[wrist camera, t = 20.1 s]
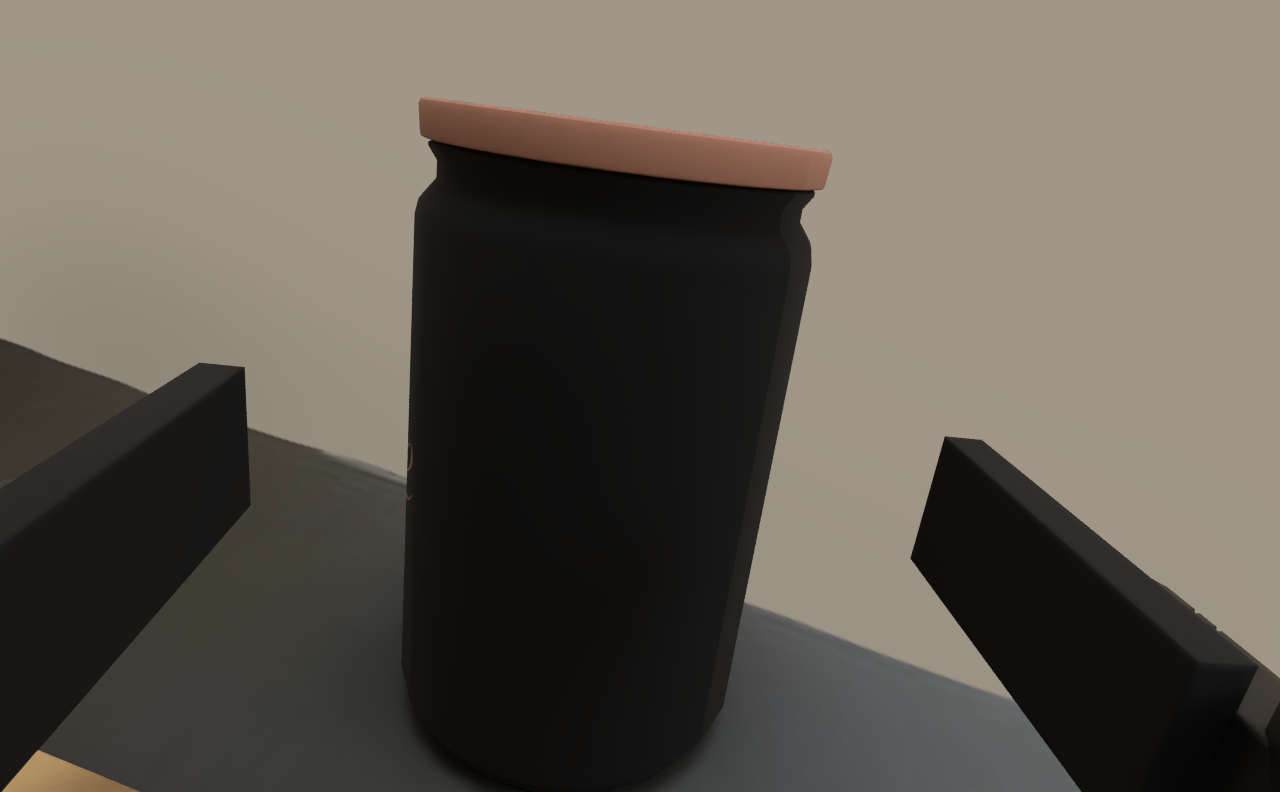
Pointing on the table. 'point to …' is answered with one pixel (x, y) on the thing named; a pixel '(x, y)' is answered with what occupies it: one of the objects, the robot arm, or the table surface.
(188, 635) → the table surface
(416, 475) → the coffee jar
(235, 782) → the table surface
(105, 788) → the tan flat long part
